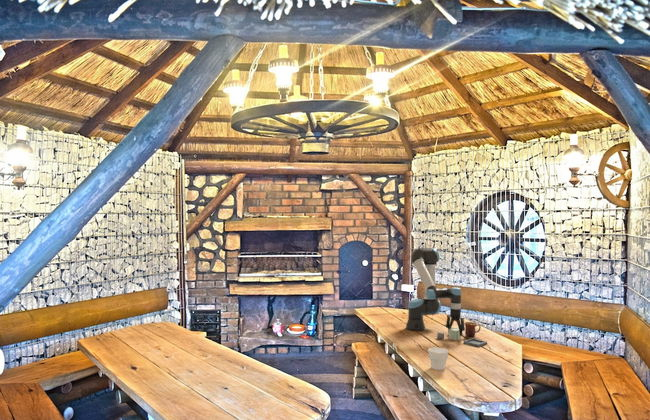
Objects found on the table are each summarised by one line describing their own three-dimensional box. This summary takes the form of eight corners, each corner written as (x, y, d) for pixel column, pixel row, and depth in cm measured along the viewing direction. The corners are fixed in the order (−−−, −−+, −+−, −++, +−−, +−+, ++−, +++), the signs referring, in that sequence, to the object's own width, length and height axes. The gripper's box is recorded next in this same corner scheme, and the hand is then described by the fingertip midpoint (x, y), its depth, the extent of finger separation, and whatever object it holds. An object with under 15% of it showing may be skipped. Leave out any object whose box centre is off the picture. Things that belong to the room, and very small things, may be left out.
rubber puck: (435, 338, 390) (436, 333, 390) (439, 337, 394) (439, 332, 394) (441, 339, 387) (441, 334, 387) (445, 338, 390) (445, 333, 390)
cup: (425, 369, 319) (426, 351, 319) (430, 363, 330) (430, 346, 330) (446, 372, 314) (446, 354, 314) (450, 366, 325) (450, 348, 325)
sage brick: (450, 339, 389) (450, 329, 389) (453, 337, 393) (454, 328, 393) (456, 340, 386) (456, 331, 386) (459, 339, 389) (459, 329, 389)
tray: (463, 343, 377) (463, 341, 377) (472, 340, 385) (472, 338, 385) (478, 347, 369) (478, 344, 368) (487, 344, 377) (487, 341, 377)
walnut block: (448, 335, 400) (448, 328, 400) (450, 333, 405) (450, 327, 405) (455, 336, 398) (455, 329, 398) (456, 334, 402) (456, 328, 402)
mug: (465, 337, 393) (465, 324, 393) (463, 334, 402) (463, 321, 401) (481, 338, 392) (481, 325, 392) (479, 335, 400) (479, 322, 400)
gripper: (441, 306, 394) (440, 336, 394) (464, 311, 379) (464, 342, 379) (446, 305, 399) (446, 335, 399) (470, 309, 384) (469, 340, 384)
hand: (455, 338), depth 389 cm, fingers open, 7 cm apart
